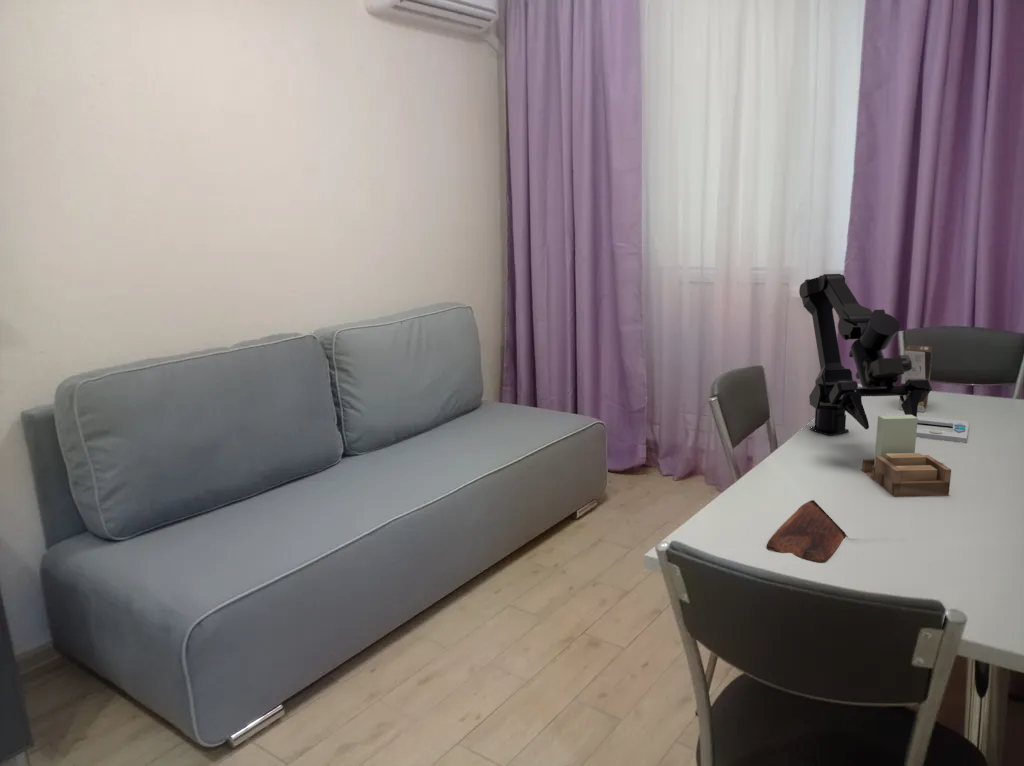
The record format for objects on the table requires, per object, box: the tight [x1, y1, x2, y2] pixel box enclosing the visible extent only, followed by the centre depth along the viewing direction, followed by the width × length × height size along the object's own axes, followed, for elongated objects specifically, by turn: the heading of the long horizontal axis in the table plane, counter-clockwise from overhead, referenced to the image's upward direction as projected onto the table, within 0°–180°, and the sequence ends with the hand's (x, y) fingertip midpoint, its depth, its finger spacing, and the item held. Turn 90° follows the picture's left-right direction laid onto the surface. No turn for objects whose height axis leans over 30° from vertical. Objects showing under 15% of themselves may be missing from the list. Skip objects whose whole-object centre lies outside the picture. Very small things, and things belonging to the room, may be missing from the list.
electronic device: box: [884, 412, 970, 444], centre depth 180 cm, size 18×2×15 cm
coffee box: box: [898, 344, 934, 413], centre depth 198 cm, size 9×6×16 cm
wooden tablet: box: [766, 499, 846, 563], centre depth 129 cm, size 26×2×10 cm
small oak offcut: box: [896, 465, 937, 481], centre depth 140 cm, size 2×6×4 cm, turn 88°
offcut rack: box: [859, 454, 952, 498], centre depth 145 cm, size 15×10×6 cm, turn 178°
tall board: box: [874, 414, 918, 466], centre depth 148 cm, size 2×6×12 cm, turn 88°
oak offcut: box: [885, 452, 926, 466], centre depth 144 cm, size 2×6×6 cm, turn 88°
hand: (890, 427), depth 150 cm, fingers open, 9 cm apart
